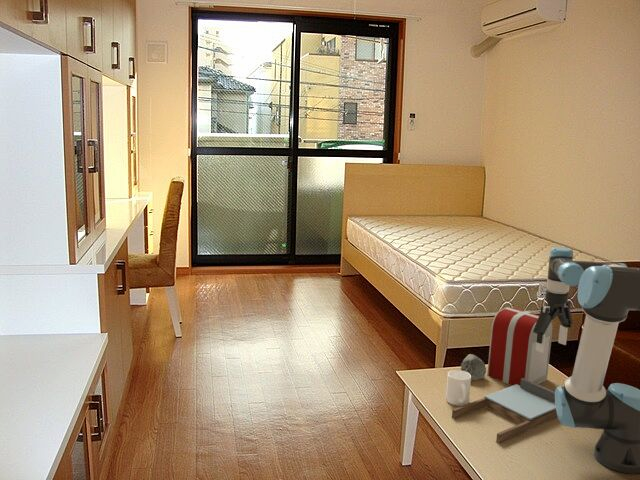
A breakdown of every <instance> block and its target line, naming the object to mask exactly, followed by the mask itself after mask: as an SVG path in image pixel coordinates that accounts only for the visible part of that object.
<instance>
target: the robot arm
mask: <svg viewBox="0 0 640 480" xmlns="http://www.w3.org/2000/svg"><path fill="white" fill-rule="evenodd" d="M548 258H549V259H548V270H547V280H546V281H547V282H546V290H545V298H544V300H545V301H546V302H547V306H546V305H545V306H544V305H542V306H541V307H540V312H539V314H538V315H539V318H538V320H537V323H536V325H535V328H534V330H533V332H534V333H537V343H536V351H539V352H542V353H543V352H544V345H545V335H544V333H545V331H546V330H547V328H548V326H549V324H550V322H552V320H554V319H555V318H558V320H559V322H560V324H561V325H559V331H558V341H557V343H558V344H561V345H564V346H566V345H567V338H568V331H569V329H570V328H572V324H573V317H572V313H571V308H570V307H571V306H570V305H571V303H570V301H569V291H570V287H576V286H577V290H578V291H577V300H578V301H577V302H578V303H579V305H580V306H581V309H582V312H583V313H584V314H585V318H584V322H583V326H582V331H581V335H580V340H579V343H578V344H579V345H578V349H577V352H576V356H575V361H574V366H573V370H572V373H571V376H569V377H567V378H566V379H565V380H564V384H563V386H557V387H555V390H554V392H555V406H556V412H557V416H558V421H559V423H560V424H561V425H562V426H565V427H569V428H574V429H575V428H576V429H577V428H580V429H595V430H596V429H597V430H603V431H602V433H601V435H600V437H599V438H598V440H597V442H596V443H595V446H594V450H593V456H594V458H595V460H596V461H597V462H599V464H601V465H602V466H604V467H605V468H608V469H611V470H613V471H616V472H619V473H623V474H632V475H636V473H638V474H640V473H639V472H640V389H639V388H637V387H635V386H632V385H628V384H625V383H620V382H614V383H611V384H610V385H609V386H608V388H607V389H606V388H605V386H604V381H605V377H606V373H607V369H608V366H609V361H610V358H611V354H612V349H613V347H614V343H615V339H616V335H617V331H618V327H619V324H620V323H621V322H625V321H626V319H627V318H628V313H629V311H640V267H628V265H627V264H626V263H624V262H623V263H621V262H606V261H587V260H586V261H585V260H573V259H574V251H573V249H572V248H569V247H563V246H556V247H555V246H554V247H552V248H551V249H550V253H549V257H548Z"/></svg>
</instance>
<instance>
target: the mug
mask: <svg viewBox="0 0 640 480" xmlns="http://www.w3.org/2000/svg"><path fill="white" fill-rule="evenodd" d="M471 382H472V380H471V375H470V374H469V373H468V372H465V371H461V369H460V370H459V369H456V370H455V369H454V370H450V371H448V372H447V379H446V393H445V400H446V402H447V403H448V404H450V405H452V406H455V407H456V406H457V407H461V406H463V405H466V404H469V403H470V395H471V394H470V393H471V384H472V383H471Z"/></svg>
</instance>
